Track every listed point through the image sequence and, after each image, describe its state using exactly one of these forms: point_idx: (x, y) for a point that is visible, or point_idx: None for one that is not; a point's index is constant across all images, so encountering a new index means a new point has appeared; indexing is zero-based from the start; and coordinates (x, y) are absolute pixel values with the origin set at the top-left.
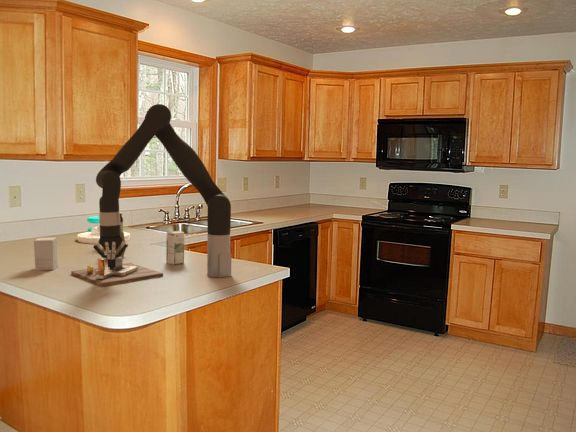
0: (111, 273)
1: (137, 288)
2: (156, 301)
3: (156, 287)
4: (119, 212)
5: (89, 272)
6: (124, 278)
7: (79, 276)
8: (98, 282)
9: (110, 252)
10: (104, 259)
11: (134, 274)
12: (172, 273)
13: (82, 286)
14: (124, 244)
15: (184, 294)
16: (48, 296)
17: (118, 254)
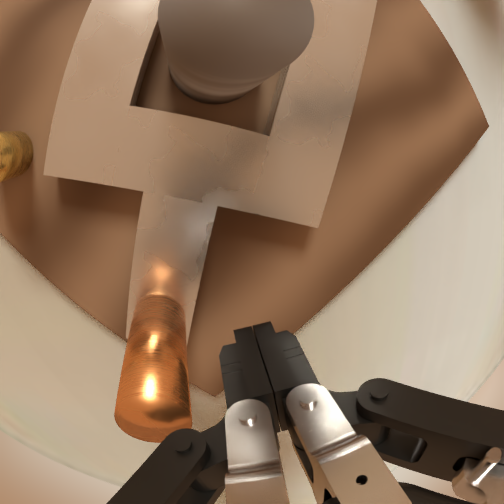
0: (211, 227)
1: (380, 370)
2: None
3: (441, 337)
4: None
5: (10, 178)
6: (322, 274)
7: None
8: None
9: (280, 464)
10: (191, 420)
11: (370, 145)
12: (494, 72)
13: (109, 387)
14: (497, 483)
15: (475, 375)
16: (90, 475)
17: (378, 448)
